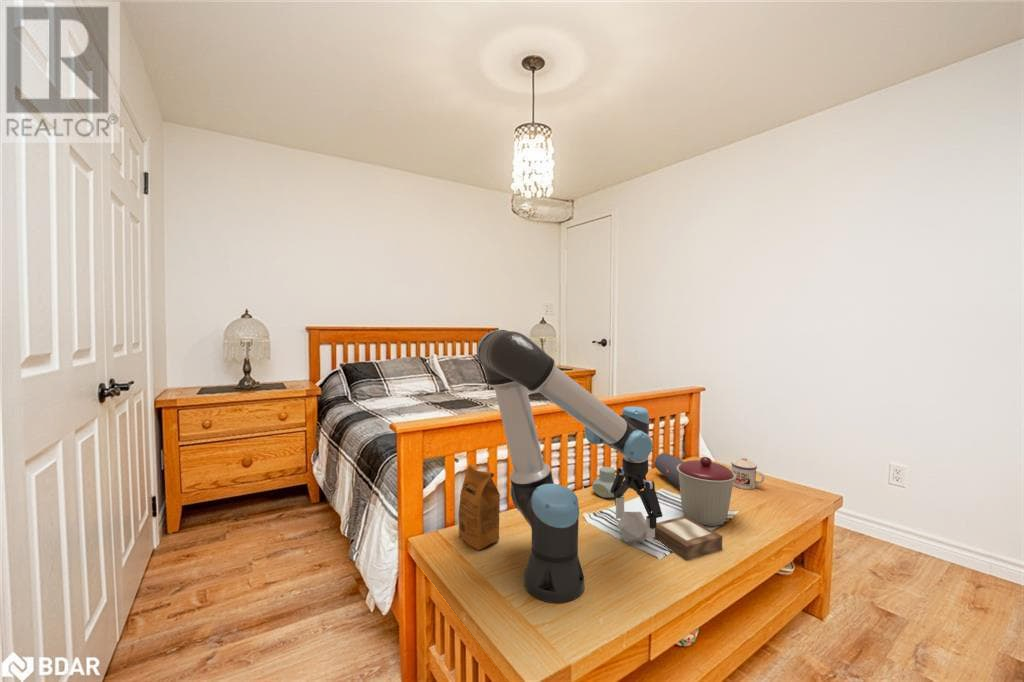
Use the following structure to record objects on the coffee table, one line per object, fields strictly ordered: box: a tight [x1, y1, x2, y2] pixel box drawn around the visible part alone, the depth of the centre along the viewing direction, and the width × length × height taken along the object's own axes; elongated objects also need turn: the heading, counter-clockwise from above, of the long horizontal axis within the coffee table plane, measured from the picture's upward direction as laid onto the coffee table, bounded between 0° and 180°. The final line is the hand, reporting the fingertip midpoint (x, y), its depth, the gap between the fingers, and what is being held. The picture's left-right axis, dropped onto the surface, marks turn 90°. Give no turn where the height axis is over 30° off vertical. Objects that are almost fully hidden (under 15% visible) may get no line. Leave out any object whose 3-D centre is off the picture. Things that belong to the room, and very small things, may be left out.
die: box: [617, 511, 646, 543], centre depth 130 cm, size 8×9×10 cm
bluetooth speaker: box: [654, 452, 684, 489], centre depth 173 cm, size 23×9×10 cm, turn 10°
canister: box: [677, 456, 736, 527], centre depth 143 cm, size 18×18×21 cm
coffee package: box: [457, 463, 501, 551], centre depth 129 cm, size 10×12×22 cm
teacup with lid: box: [730, 456, 765, 491], centre depth 171 cm, size 12×9×12 cm
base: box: [654, 515, 723, 561], centre depth 128 cm, size 14×14×4 cm
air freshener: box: [591, 466, 616, 499], centre depth 162 cm, size 11×8×10 cm
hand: (634, 527), depth 130 cm, fingers open, 13 cm apart
